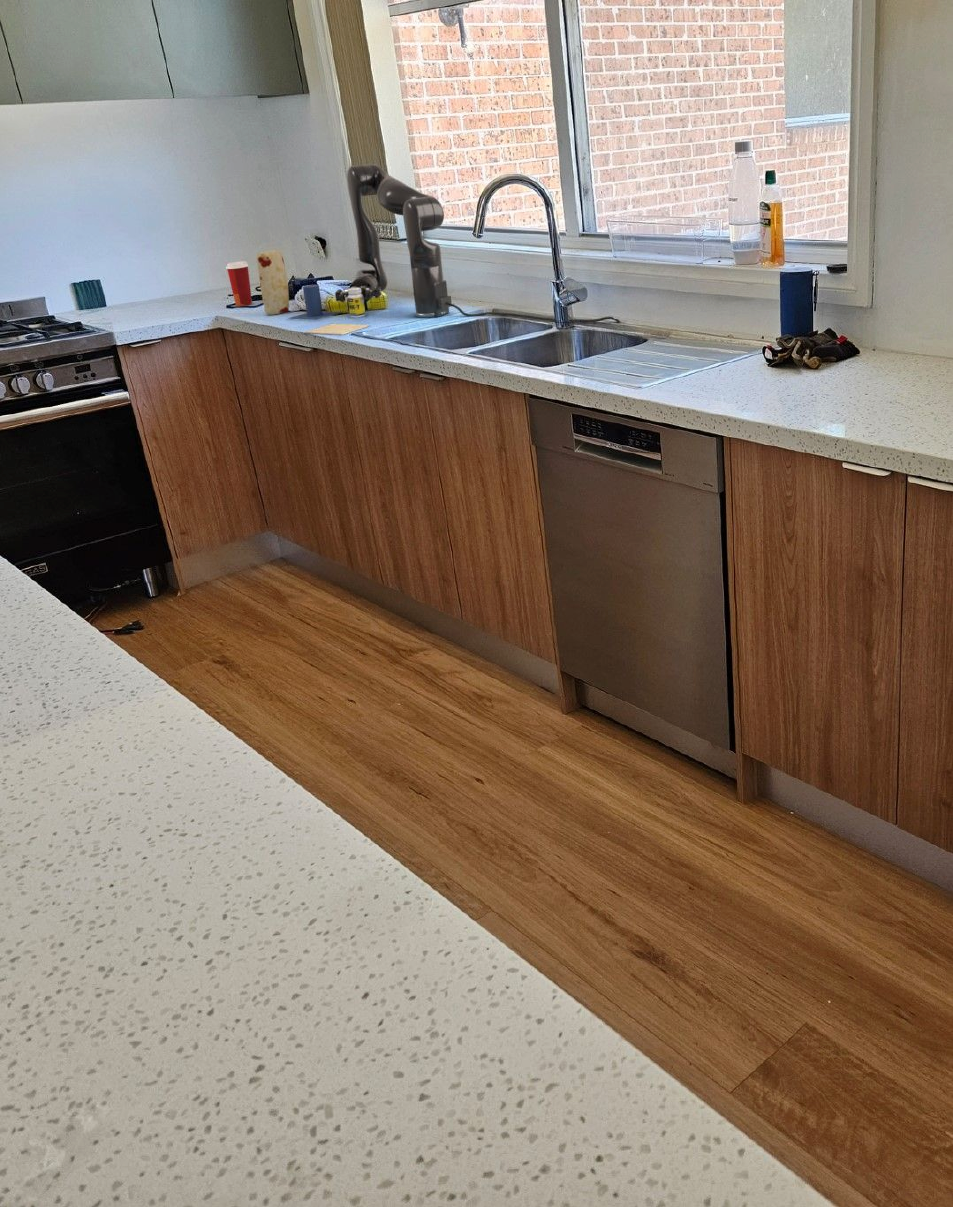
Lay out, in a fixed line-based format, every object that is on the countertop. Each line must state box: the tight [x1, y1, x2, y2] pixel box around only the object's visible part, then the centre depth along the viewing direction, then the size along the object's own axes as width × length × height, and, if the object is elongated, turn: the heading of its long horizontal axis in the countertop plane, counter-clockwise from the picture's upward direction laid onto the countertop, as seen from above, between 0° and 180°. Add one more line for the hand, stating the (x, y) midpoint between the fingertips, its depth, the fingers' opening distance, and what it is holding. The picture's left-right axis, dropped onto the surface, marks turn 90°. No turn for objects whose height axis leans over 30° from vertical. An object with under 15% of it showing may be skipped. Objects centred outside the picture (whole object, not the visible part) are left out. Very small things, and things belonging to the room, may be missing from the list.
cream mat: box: [305, 323, 369, 336], centre depth 316 cm, size 14×12×1 cm
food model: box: [256, 249, 290, 316], centre depth 345 cm, size 10×7×20 cm
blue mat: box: [288, 310, 342, 321], centre depth 340 cm, size 12×12×1 cm
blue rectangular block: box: [302, 284, 324, 317], centre depth 338 cm, size 5×5×9 cm
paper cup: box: [225, 260, 253, 307], centre depth 370 cm, size 8×8×14 cm
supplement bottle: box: [347, 288, 366, 318], centre depth 331 cm, size 5×5×8 cm
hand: (354, 297), depth 328 cm, fingers open, 7 cm apart
